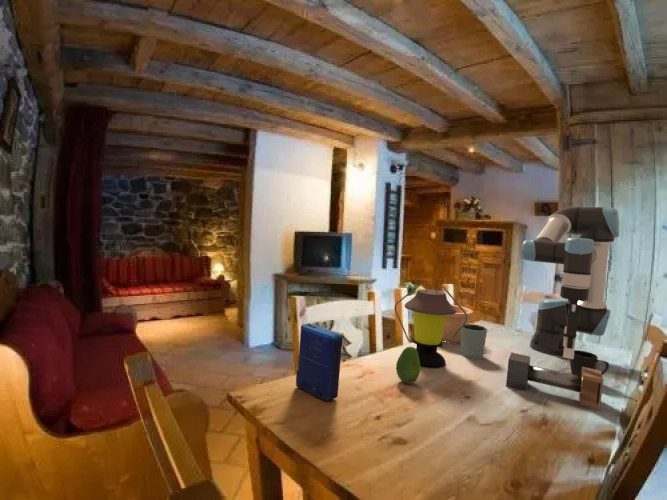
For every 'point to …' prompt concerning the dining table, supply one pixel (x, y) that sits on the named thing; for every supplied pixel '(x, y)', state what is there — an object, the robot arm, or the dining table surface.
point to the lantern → (429, 324)
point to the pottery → (455, 324)
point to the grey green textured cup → (473, 340)
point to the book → (319, 361)
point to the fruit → (408, 365)
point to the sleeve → (518, 371)
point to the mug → (584, 362)
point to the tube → (555, 378)
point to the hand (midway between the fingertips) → (567, 351)
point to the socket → (591, 388)
